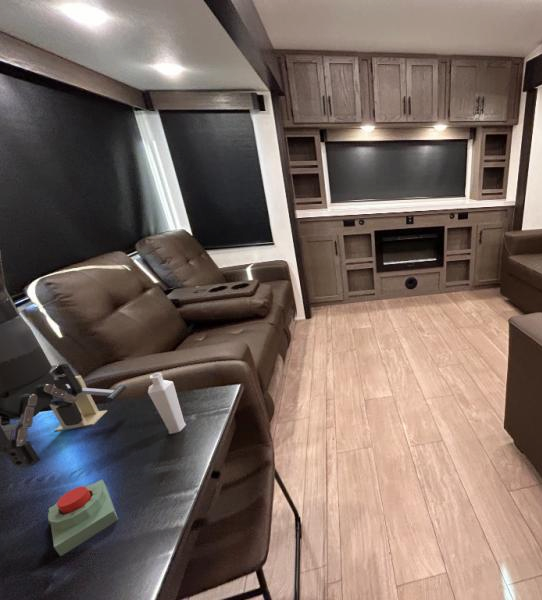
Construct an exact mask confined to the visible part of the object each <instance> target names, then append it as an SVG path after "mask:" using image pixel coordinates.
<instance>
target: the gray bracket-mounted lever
mask: <svg viewBox="0 0 542 600" xmlns="http://www.w3.org/2000/svg"><path fill="white" fill-rule="evenodd" d="M66 385H67V386H68V388H71V387H70V386H69V385H68V384H66ZM126 389H127V386H126V385H124V384H120V385H118V386H117V387H116V388H115V389H105V388H104V389H103V388H94V387H93V388H91V387H87V388H82V392H81V393H80V394H89V395H91V396H104V397H105V402H107V403H112V402H114V400H115V399H117V397H119V396H120V395H121V394H122V393H123V392H124V391H125V390H126Z"/></svg>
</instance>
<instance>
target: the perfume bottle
mask: <svg viewBox="0 0 542 600" xmlns="http://www.w3.org/2000/svg"><path fill="white" fill-rule="evenodd" d="M149 380H150V381H151V383H152V384H151V385H149V386H148V389H147V394H148V396H149V397H150V399H151V401H152V403H153V405H154V407H155V408H156V410H157V412H158V414H159V416H160V417H161V419H162V421H163V423H164V425H165V427H166V429H167V430H168V434H169V435H171V434H177V433H180V432H181V431H182V430H183V429H184V428H185V427H186V426H187V423H186V422H185V421H184V420H185V419H184V416H183V413H182V409H181V406H180V402H179V399H178V395H177V391H176V387H175V384H174V381H171V380H167V379H164V377H163V374H162V372H155V373H152V374H150V375H149Z"/></svg>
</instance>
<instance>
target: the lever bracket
mask: <svg viewBox="0 0 542 600" xmlns="http://www.w3.org/2000/svg"><path fill="white" fill-rule="evenodd" d="M74 376H75V377H76V379H77V381H78V382H79V384H80V385H81V387H82V388H88V387H87V385H86V382H85V381H84V379H83V377H82V375H74ZM66 386H67V385H66ZM54 387H55V386H54ZM67 387H68V386H67ZM55 388H56V387H55ZM75 403H76V405H77V407H78V409H79V411H80V413H81V416H82V421H81V422H80V423H79V424H77V425H71V426H66V425H65V424H64V422H63V421H62V419H61V417H60V415H59V414H58V412H57V410H56V408H57V407H58V406H54V405H51V404H50V405H49V407H50V409H51V410H52V413H54V416H55V417H56V419H57V421H58V422H59V426H57V427H56V428H55V429H54V432H61V431H65V430H72V429H78V428H85V427H88V426H94V425H95V424H96V423H97V422H98V421H99V420H100V419H101V418H103V416H104V415H105V414H106V413H107V412H108V410H107V409H104V410H99V409H98V407H97V405H96V402H95V401H94V399H93V397H92V395H89V394H77V396H76V402H75Z"/></svg>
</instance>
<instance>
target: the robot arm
mask: <svg viewBox="0 0 542 600" xmlns="http://www.w3.org/2000/svg"><path fill="white" fill-rule="evenodd" d="M3 269H4V268H3V264H2V253H1V251H0V455H3V454H5V455H6V456H7V457H8V459H9V460H10V462H11V463H12V465H13V466H14V467H16V468H27V467H33V466H35V465H37V464H38V463H39V462H40V460H41V458H40V457H39V455H38V454H37V452H36V451H35V449H34V448H33V446H32V444H31V443H30V441H27V435H28V429H29V428H31V427H32V425H33V420H34V417H36V416H38V415H39V414H40V413H41V411H42V410H43V409H45V408H47V407H50V404H51V405H54V406H58V407H57V408H56V410H57V412H58V414H59V415H60V417H61V419H62V421H63V422H64V424H65V425H66V426H71V425H77V424H79V423H80V422H81V421H82V416H81V413H80V411H79V409H78V407H77V405H76V403H75V402H76V396H77V394H80V393H81V392H82V387H81V385H80V384H79V382H78V381H77V379H76V377H75V376H76V375H75V374H74V371H72V369H71V367H70V365H69V364H68V363H61V364H53V365H52V364H51V362H50V360H49V359H48V357H47V354H46V353H45V351H44V349H43V348H42V346H41V343H40V342H39V341H38V338H37V336H36V335H35V334H34V331H33V330H32V328H31V326H30V325H29V324H28V323H27V321H25V319H24V318H23V316H22V315H21V314H20V311H19V310H18V308H17V306H16V304H15V302H14V301H13V299H12V297H11V295H10V294H9V292H8V290H7V287H6V282H5V275H4V270H3ZM66 384H68V385H69V386H70V387H71V388H68V387H67V386H66ZM55 387H56V388H55ZM11 420H12V421H18V422H17V423H12V424H11ZM13 431H14V436H13V438H12V433H13Z"/></svg>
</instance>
